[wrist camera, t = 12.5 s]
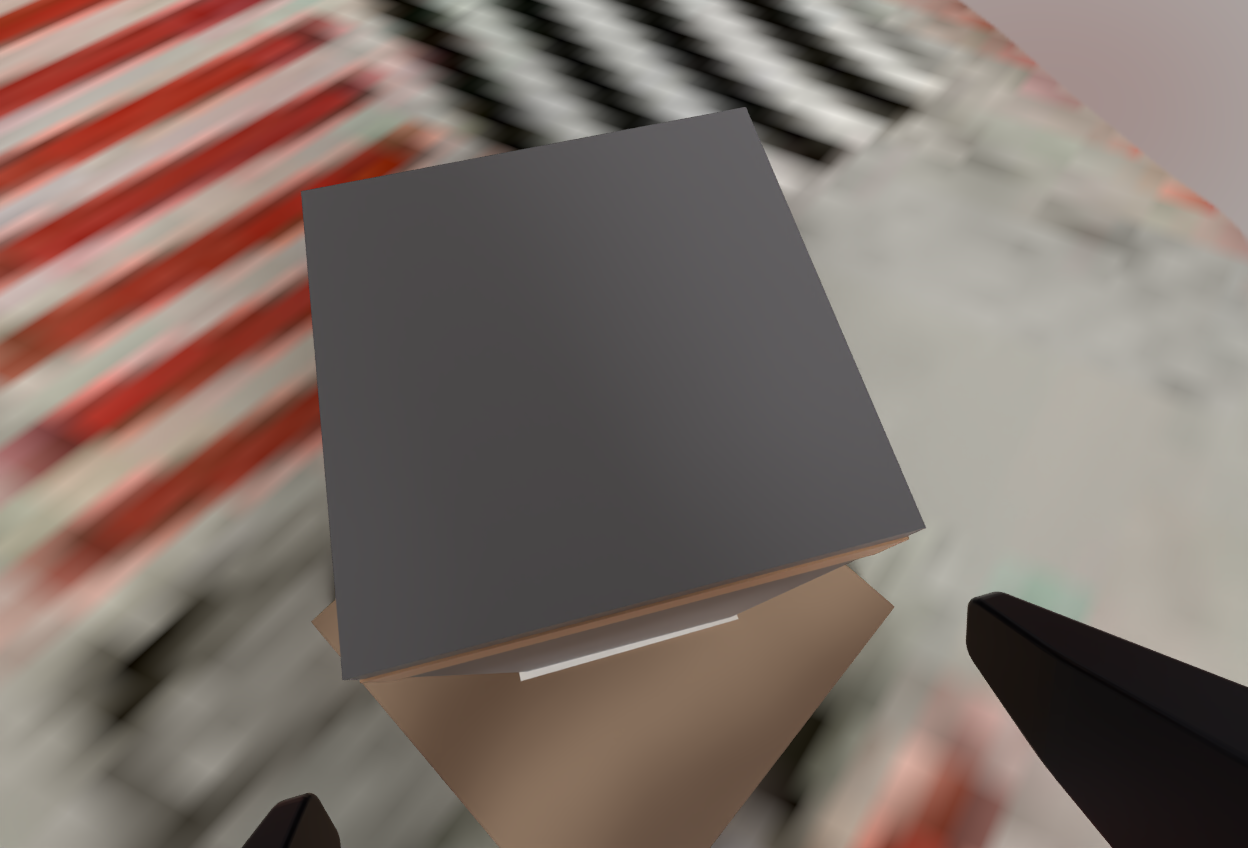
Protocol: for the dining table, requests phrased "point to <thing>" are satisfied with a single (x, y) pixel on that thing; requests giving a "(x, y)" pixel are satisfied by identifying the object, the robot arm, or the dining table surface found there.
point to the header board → (636, 722)
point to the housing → (581, 402)
